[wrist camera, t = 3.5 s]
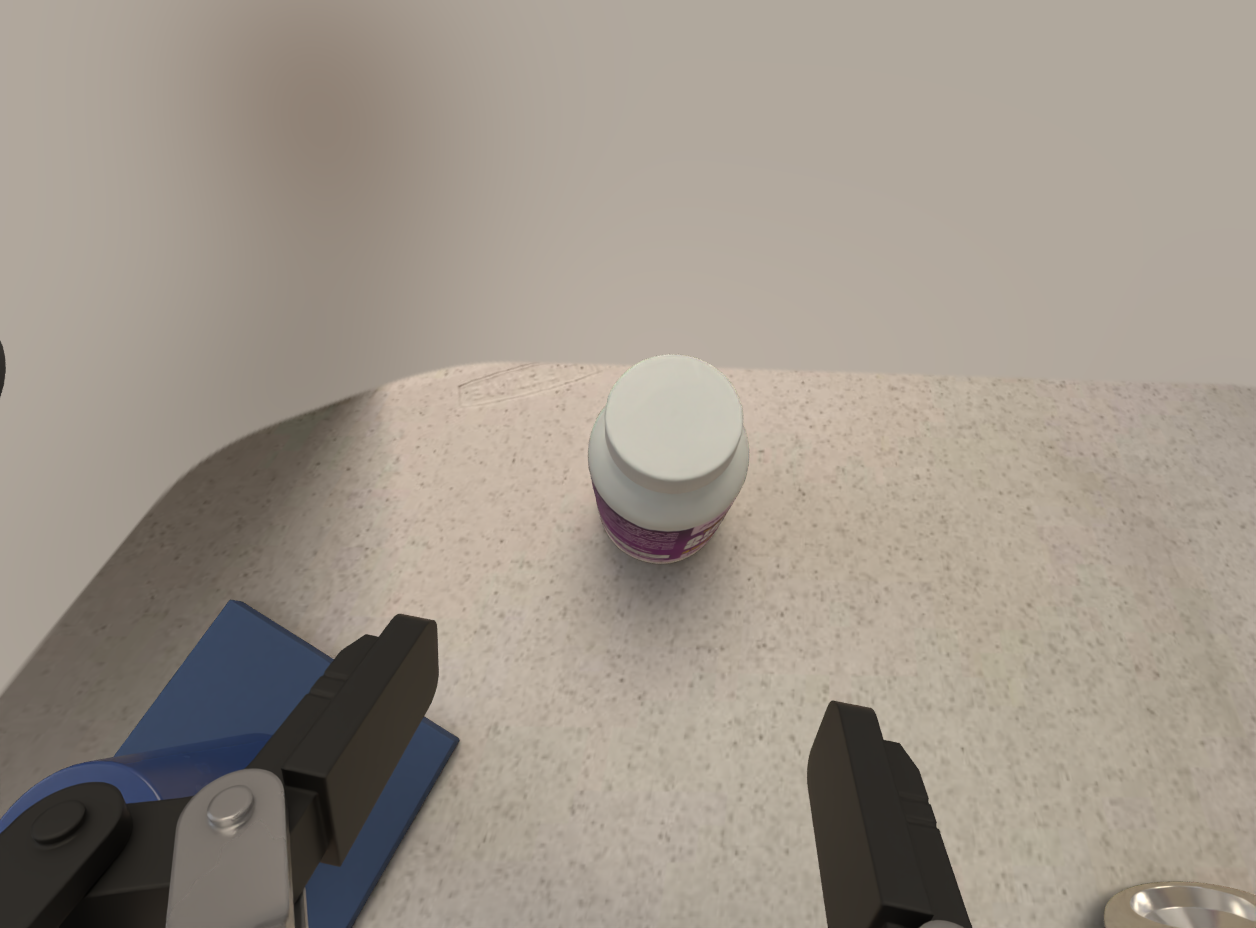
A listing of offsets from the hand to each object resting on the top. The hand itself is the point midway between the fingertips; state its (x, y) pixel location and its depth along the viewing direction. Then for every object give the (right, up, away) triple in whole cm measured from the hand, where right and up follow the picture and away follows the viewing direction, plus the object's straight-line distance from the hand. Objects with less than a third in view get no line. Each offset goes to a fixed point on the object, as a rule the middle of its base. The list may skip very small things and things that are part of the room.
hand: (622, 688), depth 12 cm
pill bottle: (+2, +3, +14) cm, 14 cm away
